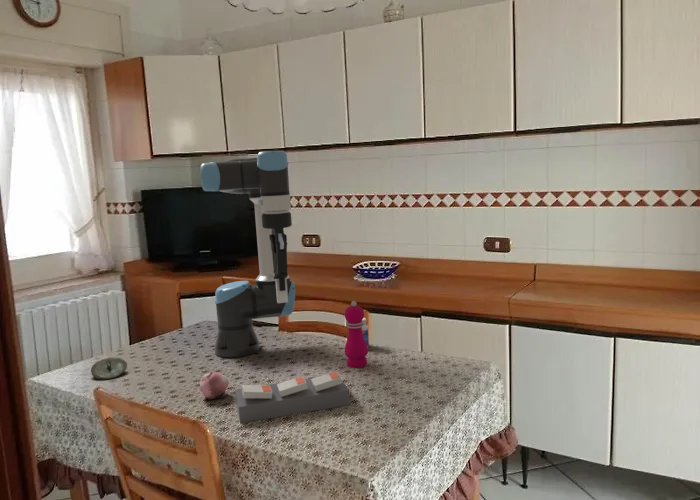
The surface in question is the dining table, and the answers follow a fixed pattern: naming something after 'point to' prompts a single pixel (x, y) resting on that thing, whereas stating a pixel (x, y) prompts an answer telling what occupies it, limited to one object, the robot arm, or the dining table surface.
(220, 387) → the onion
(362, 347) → the pepper mill
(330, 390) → the switch panel
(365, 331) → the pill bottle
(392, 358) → the dining table surface
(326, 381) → the rocker
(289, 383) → the rocker
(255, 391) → the rocker
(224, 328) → the robot arm
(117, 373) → the lid
